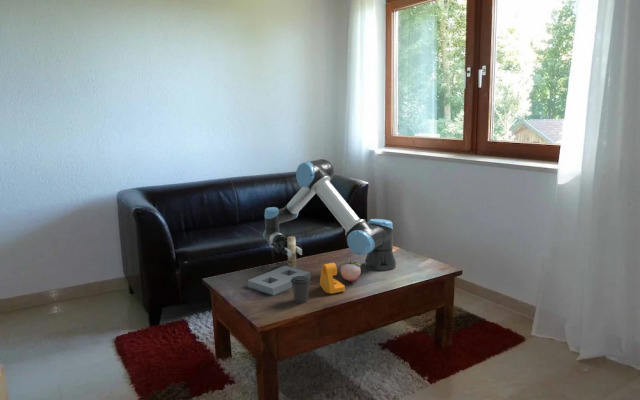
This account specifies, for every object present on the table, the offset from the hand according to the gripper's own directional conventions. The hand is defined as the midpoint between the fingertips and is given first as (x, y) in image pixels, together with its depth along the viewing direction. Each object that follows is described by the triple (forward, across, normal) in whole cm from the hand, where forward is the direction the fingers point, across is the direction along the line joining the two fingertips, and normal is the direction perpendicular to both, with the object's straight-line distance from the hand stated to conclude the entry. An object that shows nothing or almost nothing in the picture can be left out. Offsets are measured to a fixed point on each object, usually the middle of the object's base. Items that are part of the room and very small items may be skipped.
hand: (295, 253), depth 232 cm
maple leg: (-5, 0, -8) cm, 10 cm away
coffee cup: (+35, +12, -9) cm, 38 cm away
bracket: (+30, -4, -9) cm, 32 cm away
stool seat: (+12, +13, -8) cm, 20 cm away
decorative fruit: (+26, -16, -9) cm, 32 cm away
